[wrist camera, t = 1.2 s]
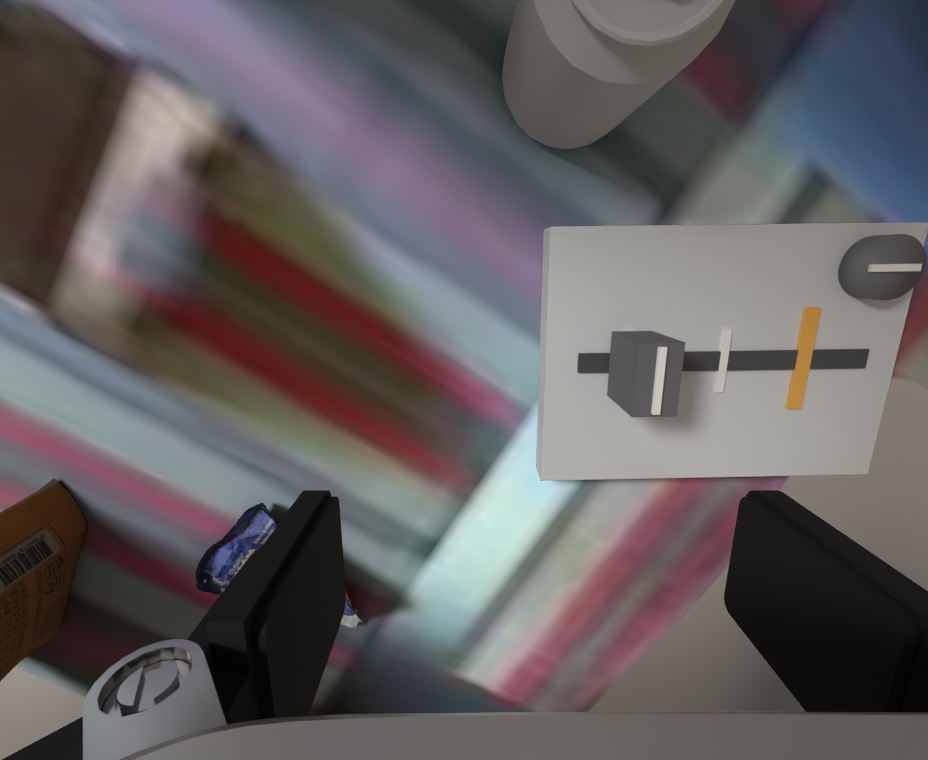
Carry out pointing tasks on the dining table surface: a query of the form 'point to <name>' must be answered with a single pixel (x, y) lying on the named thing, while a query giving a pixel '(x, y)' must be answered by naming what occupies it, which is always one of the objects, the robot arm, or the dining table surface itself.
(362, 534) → the dining table surface
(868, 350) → the console board
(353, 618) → the snack package
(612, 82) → the can
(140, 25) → the dining table surface
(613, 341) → the fader knob
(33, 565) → the pancake mix bag
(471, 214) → the dining table surface
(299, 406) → the dining table surface
